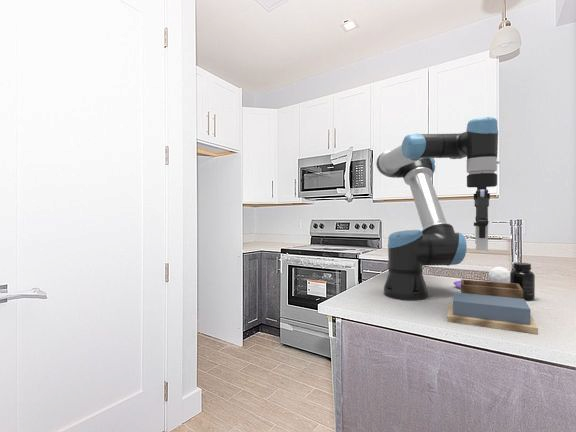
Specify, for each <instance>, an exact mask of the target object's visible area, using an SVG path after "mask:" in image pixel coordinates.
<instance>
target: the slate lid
mask: <svg viewBox="0 0 576 432" xmlns="http://www.w3.org/2000/svg"><path fill="white" fill-rule="evenodd" d="M452 298H453V299H452V303H453V315H457V316H465V317H472V318H480V319H488V320H495V321H503V322H511V323H519V324H526V325H531V323H530V315H531V307H530V306H529V305H528V303H527V301H525V300H524V299H520V298H509V297H499V296H489V295H479V294H468V293H461V292H458V291H454V292H453V297H452Z"/></svg>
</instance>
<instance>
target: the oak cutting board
mask: <svg viewBox="0 0 576 432" xmlns="http://www.w3.org/2000/svg"><path fill="white" fill-rule="evenodd" d="M446 318H447V322H449V323H455V324H462V325H469V326H476V327H483V328H489V329H499V330H503V331H504V330H505V331H512V332H518V333H527V334H535V335H539V327H538V326H537V324H536V322H535V320H534V319H533V317H532V315H531V314H530V323H531V325H526V324H519V323H511V322H503V321H495V320H488V319H480V318H472V317H465V316H457V315H453V302H449V306H448V312H447V317H446Z"/></svg>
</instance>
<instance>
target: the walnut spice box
mask: <svg viewBox="0 0 576 432" xmlns="http://www.w3.org/2000/svg"><path fill="white" fill-rule="evenodd" d="M460 281H461V288H460V293H468V294H479V295H489V296H499V297H509V298H520V299H523V289H522V288H521V286H520V285H519V284H515V283H503V282H491V281H490V280H489V281H487V280H476V279H475V280H474V279H462V278H461V279H460Z"/></svg>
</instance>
